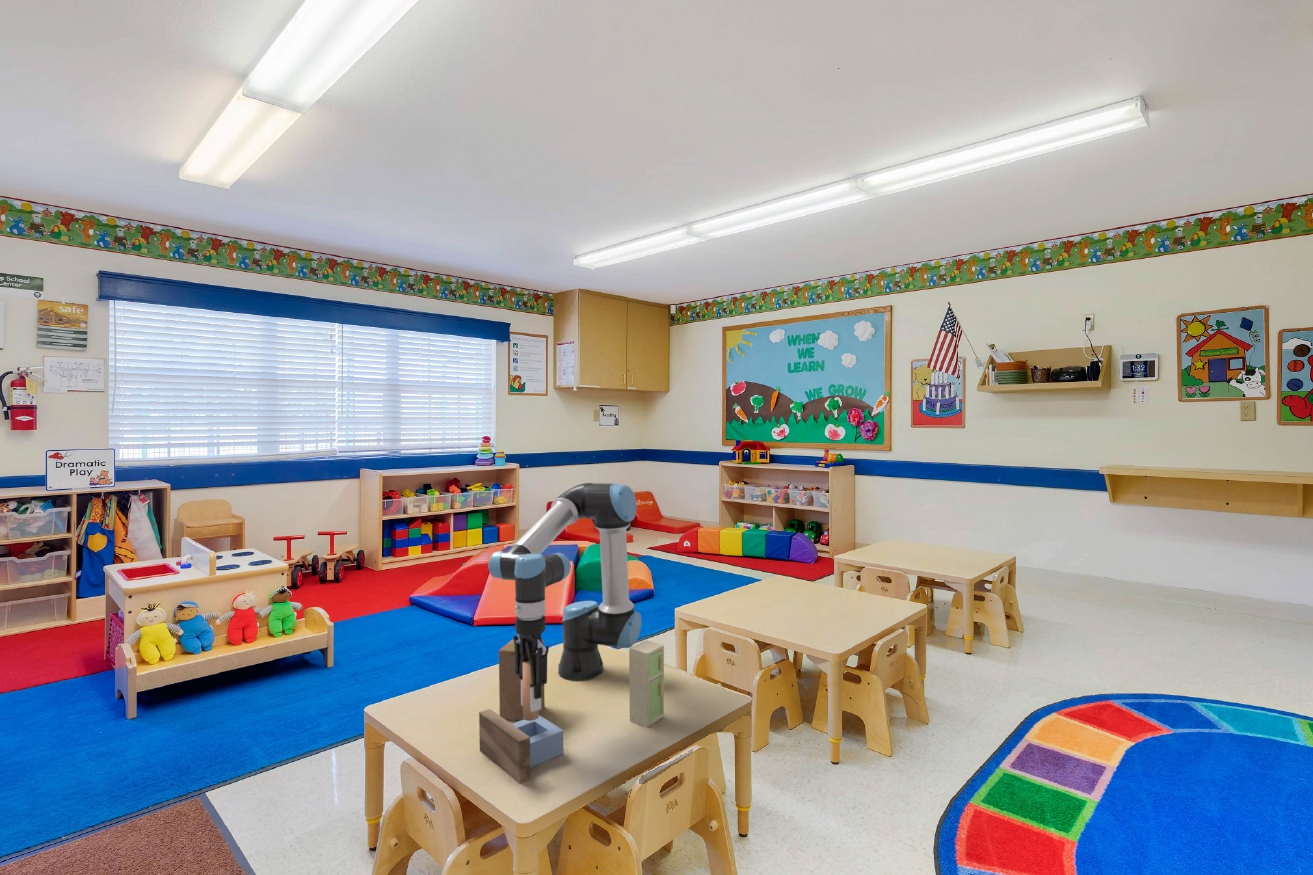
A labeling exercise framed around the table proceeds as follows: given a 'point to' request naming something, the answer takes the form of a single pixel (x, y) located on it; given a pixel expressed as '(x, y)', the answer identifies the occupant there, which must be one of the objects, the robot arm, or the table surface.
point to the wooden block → (511, 685)
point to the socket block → (542, 739)
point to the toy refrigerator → (646, 683)
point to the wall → (505, 745)
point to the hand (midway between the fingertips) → (531, 706)
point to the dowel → (527, 693)
